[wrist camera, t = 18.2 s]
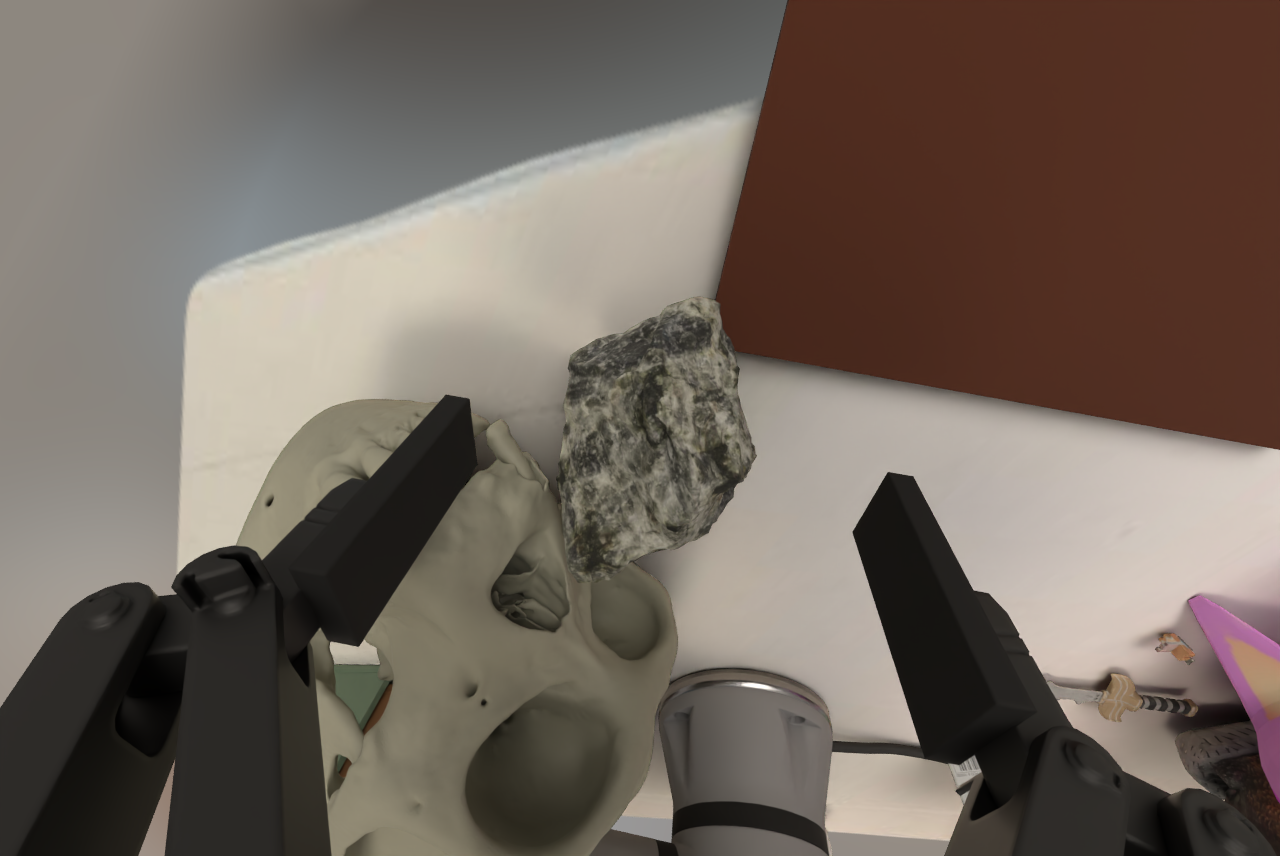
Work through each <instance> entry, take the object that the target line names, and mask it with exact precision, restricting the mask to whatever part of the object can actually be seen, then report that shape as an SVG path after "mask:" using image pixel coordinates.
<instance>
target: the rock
mask: <svg viewBox="0 0 1280 856" xmlns="http://www.w3.org/2000/svg"><path fill="white" fill-rule="evenodd" d="M720 307H721V304H720V303H718V302H717V301H715V300H713V299H709V298H704V297H700V296H698V297H693V298H689V299H687V300H684V301H681V302H677V303H674V304H672V305H669V306H667V307H666V308H665V309H664V310H663V311H662V313H661V314H660V316H657V317H653V318H649V319H648V320H645V321H643V322H641V323H639V324H637V325H635V326H634V327H632V328H630V329H629V330H628V331H626V332H625V333H623V334H613V335H609V336H607V337H603V338H599V339H596V340H595V341H593V342H591V343H590V344H588V345H587V346H585V347H583V348H581V349H579V350H577V351H576V352H574V353H573V354H572V355H571V357H570V360H569V366H568V370H569V372H570V377H569V383H568V389H567V393H566V397H565V400H564V404H563V406H564V410H565V415H566V424H565V427H564V432H563V440H562V450H561V455H560V462H559V463H558V465H559V475H558V476H557V478H556V480H557V484H558V489H559V491H560V497H561V502H562V532H563V536H564V539H565V555H566V560H567V566H568V571H569V572H570V573H571V574H572V575H573V576H574V578H575V579H576V581H577V582H578V583H586V582H590V581H593V582H594V583H597V582H599V581H601V580H611V579H612V578H613V577H614V576H615V575H616V574H617V573H620V572H621V571H622V570H623V569H624V568H625V567H626V566H627V565H628V564H629V563H631V562H633V561H635V560H636V559H638V558H640V557H641V556H643V555H646V554H650V553H653V552H656V551H659V550H665V549H670V550H673V549H677V548H679V547H681V546H683V545H684V544H686V543H687V542H690V541H694V540H697V539H699V538H700V537H702V536H704V535H705V534H707V533H709V531H710V528H711V526H712V524H713V523H714V522H716V521H717V519H718V517H719V515H720V514H721V513H722V511H723V510H724V508H725V506H726V505H727V503H728V502H729V501H730V500H731V499H732V498H733V496H734V488H735V486H736V485H737V484H738V483H740V482H743V481H744V478H746V477H747V474H748V472H749V471H750V469H751V464H752V463H753V461H754V460H755V458H756V456H757V455H756V454H755V446H754V445H753V444H752V443H751V435H750V433H749V430H748V428H747V423H746V420H745V417H744V414H743V411H742V408H741V404H740V399H739V396H738V392H737V384H738V375H739V367H738V366H737V361H736V358H735V348H734V346H733V344H732V341H731V339H730V337H728V336H727V334H726V333H725V331H724V329H723V323H722V320H721V316H720Z"/></svg>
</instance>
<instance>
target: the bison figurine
mask: <svg viewBox="0 0 1280 856" xmlns="http://www.w3.org/2000/svg"><path fill="white" fill-rule="evenodd" d="M1175 743H1176V746H1177V749H1178V752H1179V755H1180V758H1181V760H1182V762H1183V765H1184V767H1185V769H1186V770H1187V771H1188V773H1189V774H1190V775H1191V776H1192V777H1193V778H1194V779H1195V780H1196V781H1197V782H1198V783H1199V784H1200V785H1202V786H1203V787H1205V788H1206V789H1207V790H1208V791H1209V792H1210V793H1212V794H1213V795H1216V796H1218V797H1219V798H1221V799H1225V802H1227V803H1228V804H1230V805H1231V806H1233V807H1234V808H1236V809H1237V810H1238V811H1239V812H1240V813H1241V814H1242V815H1243V816H1245V817H1246V818H1247V819H1248V820H1249V821H1250V822H1251V823H1252V824H1253V825H1254V826H1255V827H1256V828H1257V829H1258V830H1259V831H1260V833H1261V834H1262V835H1263V836H1264V837H1265V839H1266V840H1267V841H1268V842H1269V843H1270V845H1271V846H1272V848H1273V850H1274V852H1275V853H1276V855H1277V856H1280V803H1279V802H1278V800H1277V799H1276V796H1275V794H1274V792H1273V790H1272V788H1271V786H1270V784H1269V782H1268V779H1267V777H1266V775H1265V773H1264V771H1263V768H1262V766H1261V761H1260V755H1259V749H1258V741H1257V734H1256V731H1255V728H1254V726H1253V724H1252V722H1251V721H1246V722H1239V723H1231V724H1225V725H1219V726H1214V727H1208V728H1202V729H1194V730H1189V731H1186V732H1184V733H1181V734H1179V735H1178V736H1177V738H1176V740H1175Z"/></svg>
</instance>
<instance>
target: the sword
mask: <svg viewBox="0 0 1280 856" xmlns="http://www.w3.org/2000/svg"><path fill="white" fill-rule="evenodd" d="M1110 675H1111V677H1112V681H1111V682H1110V684H1109V686H1108V688H1107V689H1106V690H1102V691H1098V692H1097V691H1092V690H1084V689H1076V688H1068V687H1061V686H1057V685H1055V684H1054V683H1053V682H1052V681H1048V682H1047V684H1048V686H1049V687H1050V689H1051V691H1052V693H1053V694H1054V696H1055V698H1056V700H1059V699H1070V700H1074V701H1075V702H1076V704H1081V703H1084V702H1090V701H1091V702H1093V701H1095V702H1097V703H1099V704H1100V705H1099V707H1098V709H1099V712H1100V714H1101V715H1102V716H1103V717H1104V718H1105V719H1107V720H1111V721H1115V722H1122V721H1121V718H1120V717H1121V715H1122V714H1123V712H1124V710H1125V709H1127V710H1129V711H1134V712H1136V711H1137V710H1138V709H1139V708H1141V709H1142V708H1145V709H1148V710H1154V709H1155V710H1157V711H1168V712H1172V713H1177V712H1179V713H1181V714H1184V715H1185V716H1190V717H1192V716H1194V715H1195V713H1197V711H1198V706H1197V705H1196V704H1195V703H1194V702H1193V701H1192V700H1190V699H1183V700H1175V699H1170V698H1166V699H1164V698H1161V697H1151V696H1145V695H1143V696H1141V695H1138V694H1137V693H1136V691H1135V686H1134V683H1133V682H1132V680H1131V679H1130V678H1128V677H1127V676H1124V675H1120V674H1110Z"/></svg>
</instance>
